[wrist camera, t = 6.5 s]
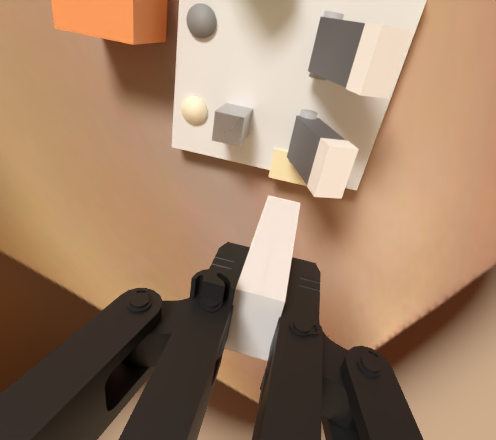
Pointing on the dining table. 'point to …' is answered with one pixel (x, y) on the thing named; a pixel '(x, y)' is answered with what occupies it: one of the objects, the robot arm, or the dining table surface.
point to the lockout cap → (113, 19)
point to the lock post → (231, 124)
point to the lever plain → (358, 54)
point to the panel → (272, 77)
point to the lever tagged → (320, 155)
